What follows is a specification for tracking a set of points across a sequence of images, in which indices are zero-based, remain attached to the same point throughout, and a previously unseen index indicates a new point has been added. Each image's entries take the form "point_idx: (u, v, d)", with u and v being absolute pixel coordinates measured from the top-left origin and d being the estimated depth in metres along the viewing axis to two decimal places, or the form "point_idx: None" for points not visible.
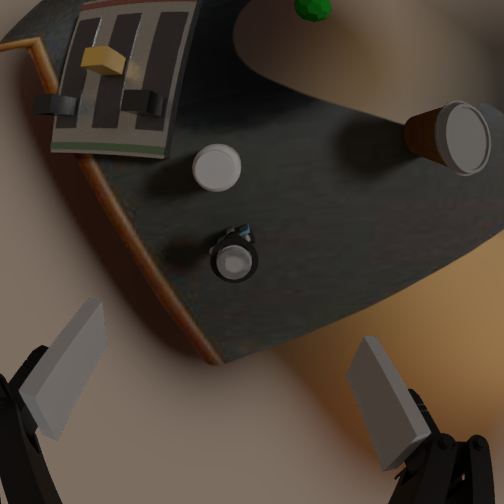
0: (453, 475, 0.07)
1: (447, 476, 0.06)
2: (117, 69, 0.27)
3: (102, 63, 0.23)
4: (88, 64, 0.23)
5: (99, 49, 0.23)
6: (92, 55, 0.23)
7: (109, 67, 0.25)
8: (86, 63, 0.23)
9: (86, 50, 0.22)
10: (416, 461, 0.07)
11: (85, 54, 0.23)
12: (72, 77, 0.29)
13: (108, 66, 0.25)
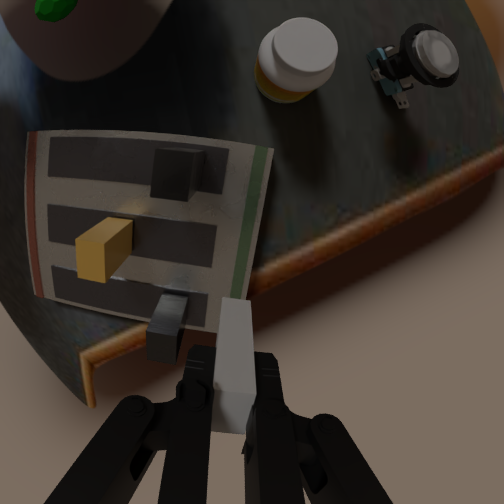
0: (300, 457, 0.08)
1: (290, 448, 0.07)
2: (122, 224, 0.22)
3: (103, 243, 0.18)
4: (103, 269, 0.18)
5: (80, 251, 0.18)
6: (89, 263, 0.18)
7: (114, 234, 0.20)
8: (101, 273, 0.18)
9: (81, 275, 0.18)
10: (250, 435, 0.09)
11: (87, 276, 0.19)
12: (131, 301, 0.27)
13: (111, 235, 0.19)
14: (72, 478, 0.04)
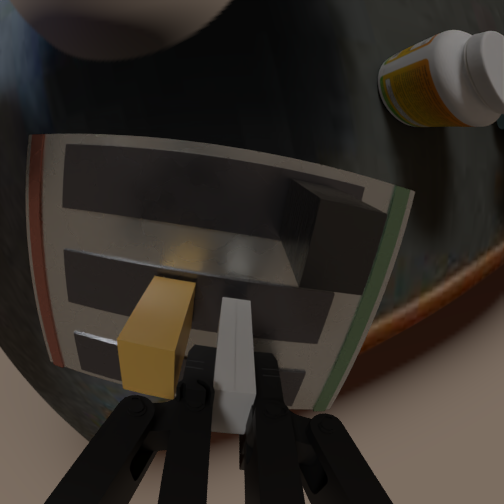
0: (299, 457, 0.08)
1: (290, 448, 0.07)
2: (184, 295, 0.14)
3: (171, 350, 0.11)
4: (170, 383, 0.11)
5: (128, 358, 0.11)
6: (144, 374, 0.11)
7: (181, 322, 0.12)
8: (167, 387, 0.11)
9: (130, 386, 0.11)
10: (250, 435, 0.09)
11: (141, 389, 0.11)
12: None
13: (179, 326, 0.12)
14: (72, 478, 0.04)
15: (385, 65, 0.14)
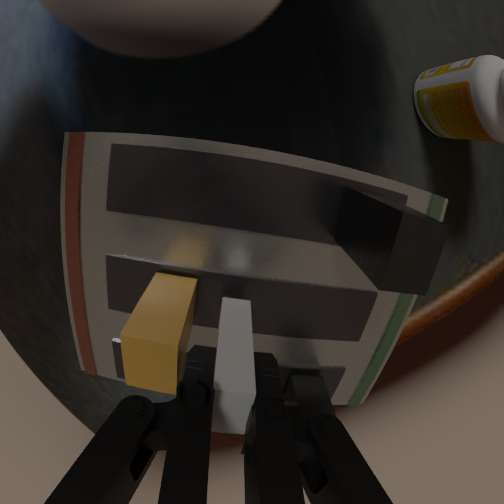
0: (299, 457, 0.08)
1: (290, 448, 0.07)
2: (185, 291, 0.15)
3: (174, 344, 0.11)
4: (173, 378, 0.11)
5: (131, 353, 0.11)
6: (147, 369, 0.11)
7: (183, 318, 0.12)
8: (169, 383, 0.11)
9: (133, 382, 0.11)
10: (250, 435, 0.09)
11: (144, 384, 0.11)
12: None
13: (181, 321, 0.12)
14: (72, 478, 0.05)
15: (421, 80, 0.14)
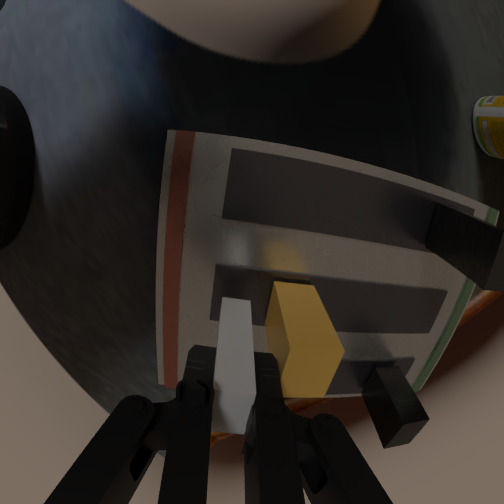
0: (299, 457, 0.08)
1: (290, 448, 0.07)
2: (314, 298, 0.15)
3: (340, 350, 0.11)
4: (328, 382, 0.12)
5: (295, 365, 0.11)
6: (306, 378, 0.12)
7: (330, 324, 0.13)
8: (322, 386, 0.12)
9: (283, 393, 0.12)
10: (250, 435, 0.09)
11: (294, 393, 0.12)
12: None
13: (331, 328, 0.13)
14: (72, 478, 0.04)
15: (480, 107, 0.15)
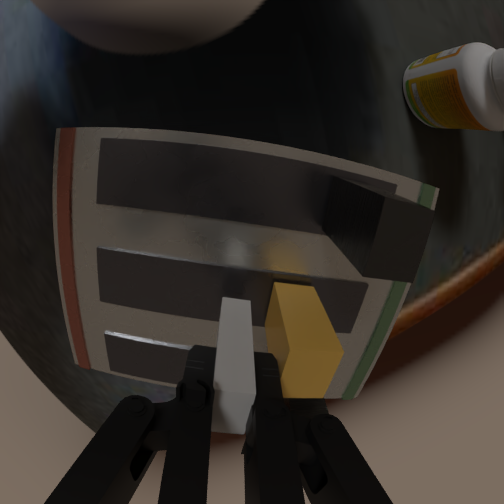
0: (299, 457, 0.08)
1: (290, 448, 0.07)
2: (313, 299, 0.15)
3: (340, 351, 0.11)
4: (327, 383, 0.12)
5: (295, 366, 0.11)
6: (305, 378, 0.12)
7: (330, 325, 0.13)
8: (321, 387, 0.12)
9: (283, 393, 0.12)
10: (250, 435, 0.09)
11: (294, 394, 0.12)
12: None
13: (331, 329, 0.13)
14: (72, 478, 0.04)
15: (410, 70, 0.14)
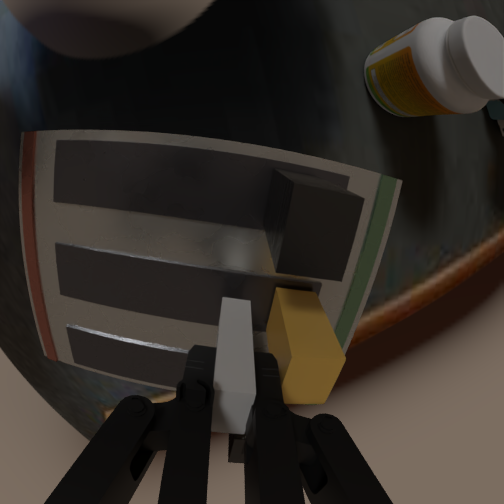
0: (299, 457, 0.08)
1: (290, 448, 0.07)
2: (315, 305, 0.15)
3: (341, 358, 0.11)
4: (328, 389, 0.12)
5: (296, 372, 0.11)
6: (307, 385, 0.12)
7: (332, 331, 0.13)
8: (323, 393, 0.12)
9: (284, 399, 0.12)
10: (250, 435, 0.09)
11: (295, 400, 0.12)
12: None
13: (333, 335, 0.13)
14: (72, 478, 0.04)
15: (371, 56, 0.14)
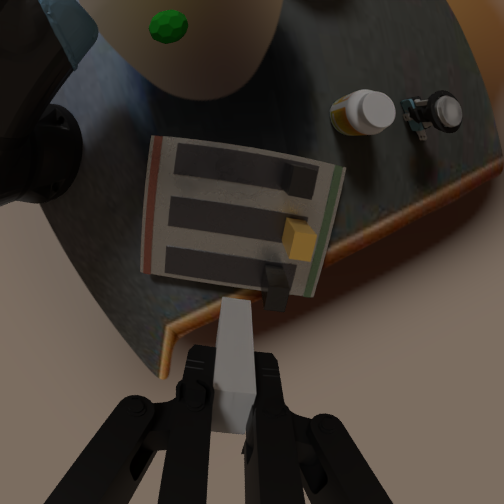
0: (300, 457, 0.08)
1: (291, 448, 0.07)
2: (305, 223, 0.34)
3: (315, 235, 0.30)
4: (311, 252, 0.30)
5: (297, 240, 0.30)
6: (302, 248, 0.30)
7: (312, 229, 0.32)
8: (309, 254, 0.30)
9: (292, 256, 0.30)
10: (250, 435, 0.09)
11: (297, 257, 0.31)
12: (236, 272, 0.38)
13: (312, 230, 0.31)
14: (72, 478, 0.04)
15: (333, 105, 0.33)
